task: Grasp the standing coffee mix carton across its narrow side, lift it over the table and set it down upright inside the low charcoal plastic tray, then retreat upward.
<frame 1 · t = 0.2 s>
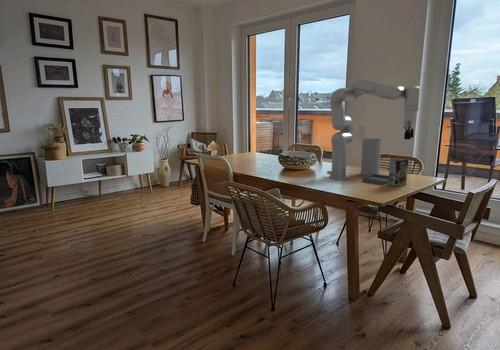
hand: (408, 138, 201), 30 cm above the table, tool pointing down, fingers open, 9 cm apart
coffee box: (397, 184, 218), on the table
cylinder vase: (369, 174, 247), on the table
tray: (378, 180, 228), on the table
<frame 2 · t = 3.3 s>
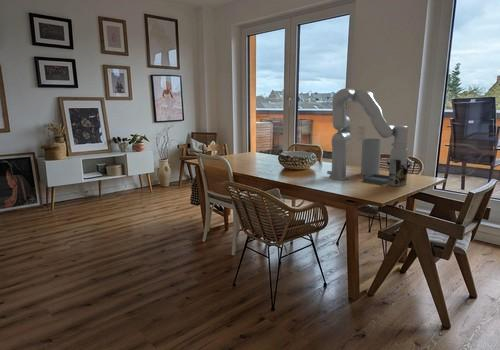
hand: (398, 173, 216), 7 cm above the table, tool pointing down, fingers closed on coffee box, 8 cm apart
coffee box: (397, 184, 218), on the table, touching gripper
everything else where it was.
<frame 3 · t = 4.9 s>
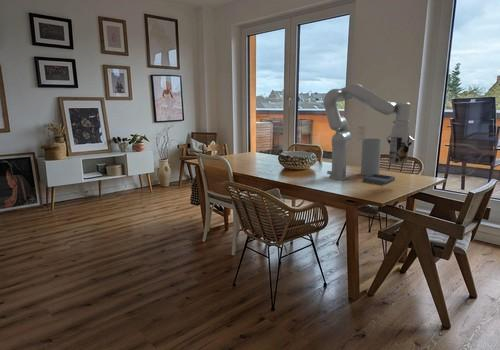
hand: (398, 151, 214), 21 cm above the table, tool pointing down, fingers closed on coffee box, 8 cm apart
coffee box: (397, 163, 215), point 14 cm above the table, touching gripper
everything else where it was.
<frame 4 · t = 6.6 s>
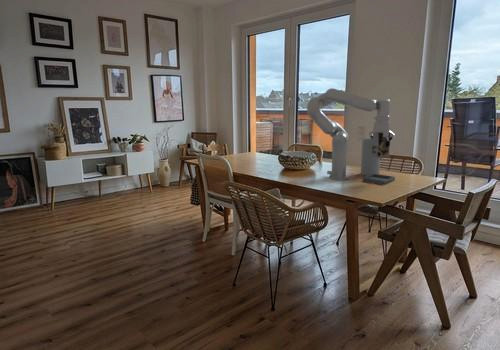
hand: (380, 146, 223), 23 cm above the table, tool pointing down, fingers closed on coffee box, 8 cm apart
coffee box: (380, 157, 225), point 16 cm above the table, touching gripper
everything else where it was.
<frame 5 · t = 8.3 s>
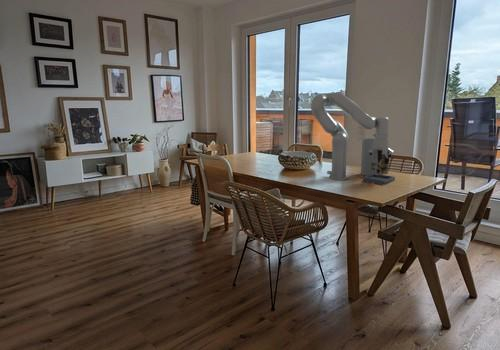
hand: (380, 163, 226), 12 cm above the table, tool pointing down, fingers closed on coffee box, 8 cm apart
coffee box: (379, 174, 227), point 5 cm above the table, touching gripper
everything else where it was.
when the fingers open (9 cm above the table, at t = 10.0 s): coffee box drops 1 cm, resting on tray.
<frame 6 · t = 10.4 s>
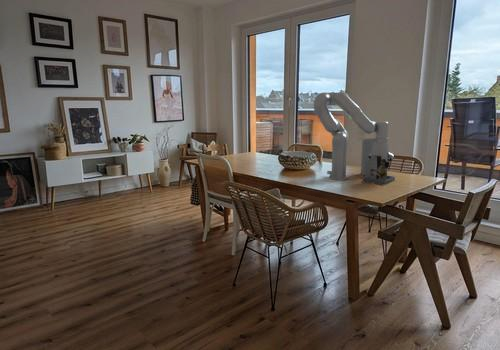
hand: (379, 167, 226), 9 cm above the table, tool pointing down, fingers open, 9 cm apart
coffee box: (378, 179, 228), point 1 cm above the table, touching tray
everything else where it was.
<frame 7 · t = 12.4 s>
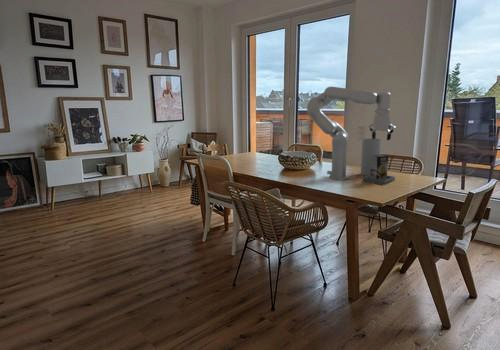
hand: (381, 139, 222), 27 cm above the table, tool pointing down, fingers open, 9 cm apart
nothing on the table moved.
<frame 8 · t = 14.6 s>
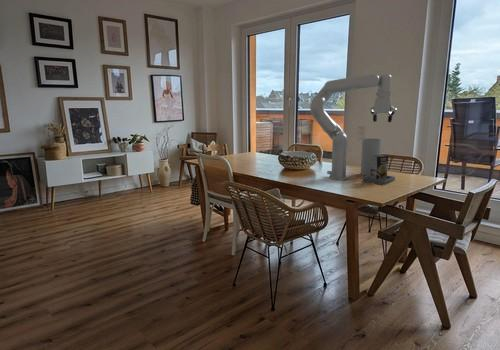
hand: (382, 121, 224), 38 cm above the table, tool pointing down, fingers open, 9 cm apart
nothing on the table moved.
at the end: coffee box inside the target area on the tray (0.3 cm from its centre), point 0.6 cm above the tray's base; coffee box tilted 0°; the gripper is holding nothing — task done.
